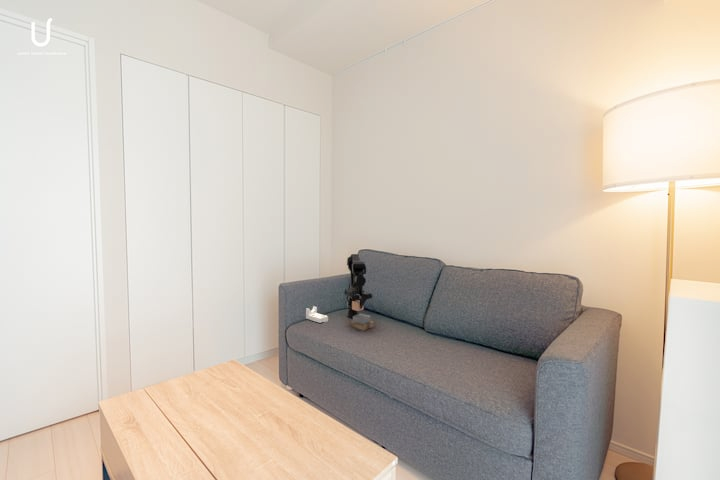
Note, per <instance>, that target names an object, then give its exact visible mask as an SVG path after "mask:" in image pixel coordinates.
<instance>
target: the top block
mask: <svg viewBox="0 0 720 480" xmlns="http://www.w3.org/2000/svg"><path fill="white" fill-rule="evenodd" d="M352 321H353V322H355V323H359V324H362V325H364V324H366V323H368V322H371V321H372V315H369V314H365V313H358V315H355V316H353V318H352Z"/></svg>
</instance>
